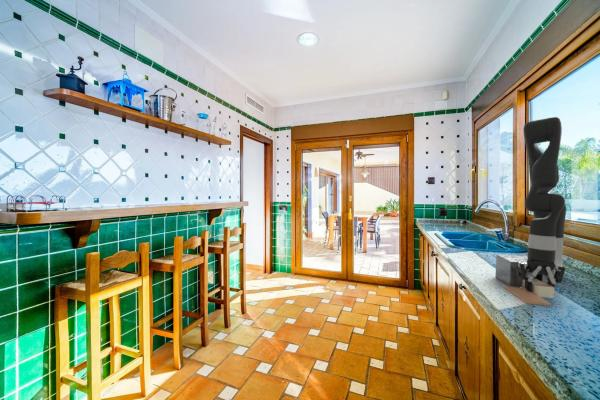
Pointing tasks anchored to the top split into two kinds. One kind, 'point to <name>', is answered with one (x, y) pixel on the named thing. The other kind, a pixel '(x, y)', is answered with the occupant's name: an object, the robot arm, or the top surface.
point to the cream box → (540, 288)
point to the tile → (527, 296)
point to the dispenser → (513, 270)
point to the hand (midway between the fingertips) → (538, 291)
